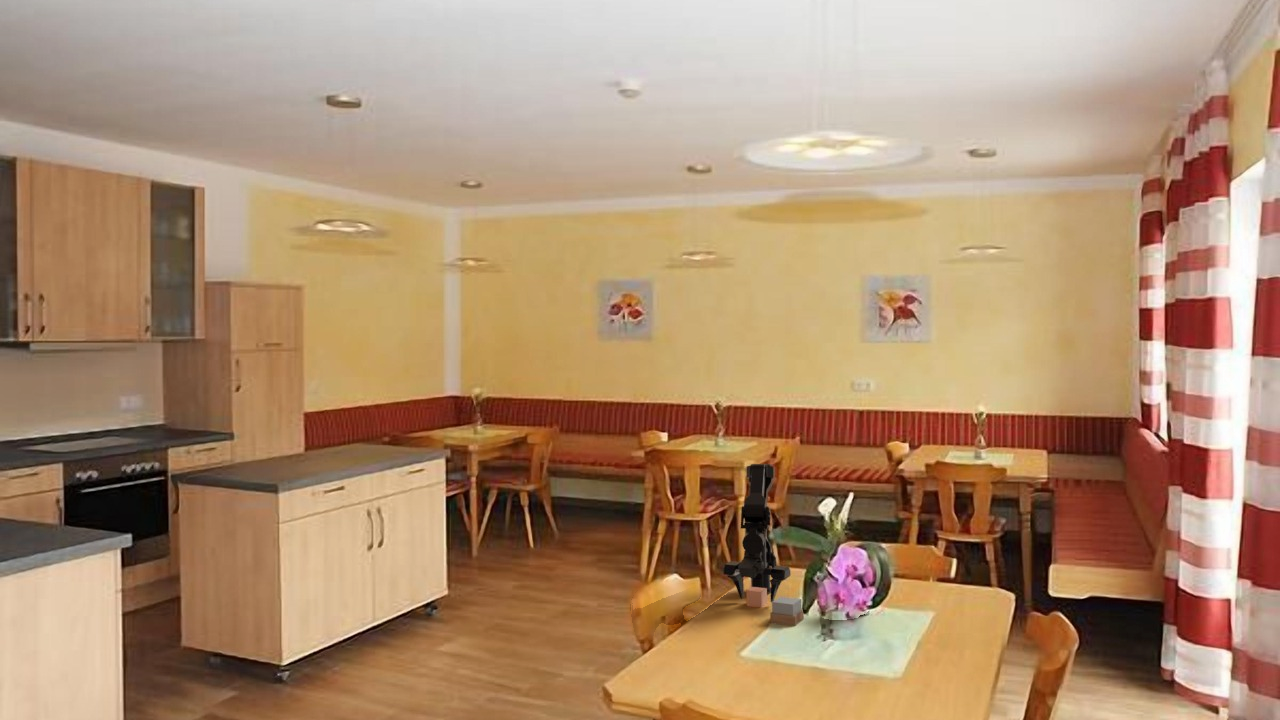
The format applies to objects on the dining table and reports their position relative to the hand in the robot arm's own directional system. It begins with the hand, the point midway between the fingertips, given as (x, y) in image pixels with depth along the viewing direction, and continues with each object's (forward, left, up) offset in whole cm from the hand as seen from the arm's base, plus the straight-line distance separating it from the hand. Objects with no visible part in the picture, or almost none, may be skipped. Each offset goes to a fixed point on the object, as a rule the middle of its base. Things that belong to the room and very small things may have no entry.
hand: (756, 600), depth 281 cm
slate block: (+12, +13, +1) cm, 18 cm away
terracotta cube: (0, 0, -1) cm, 1 cm away
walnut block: (+12, +13, -2) cm, 18 cm away
